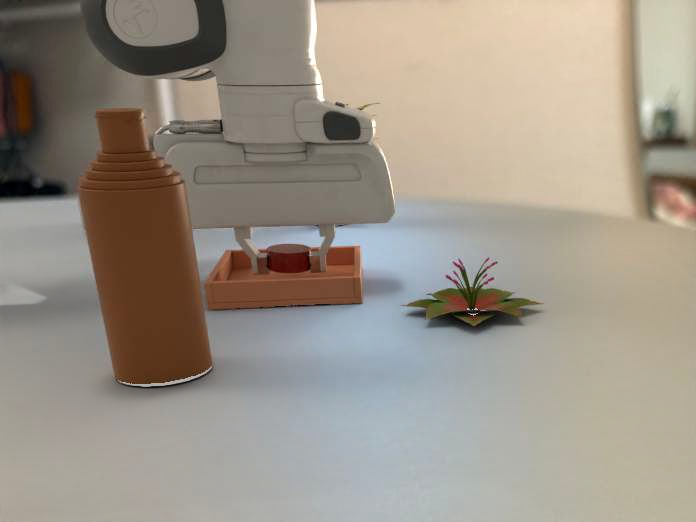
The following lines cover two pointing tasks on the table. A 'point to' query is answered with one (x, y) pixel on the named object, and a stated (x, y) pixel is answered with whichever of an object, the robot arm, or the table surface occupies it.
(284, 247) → the cap
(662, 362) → the table surface
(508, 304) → the flowering rosette plant
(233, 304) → the tray
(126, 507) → the table surface
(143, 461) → the table surface
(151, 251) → the bottle
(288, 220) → the robot arm
